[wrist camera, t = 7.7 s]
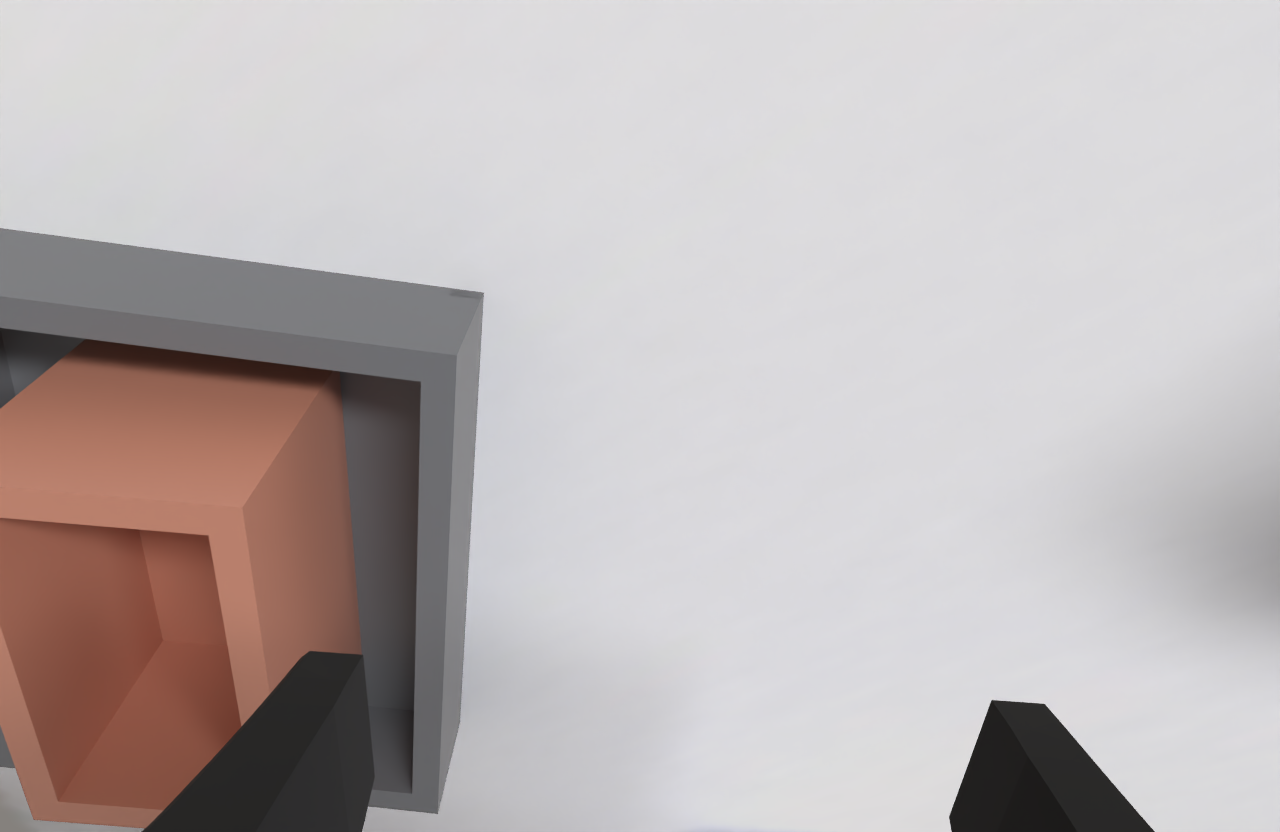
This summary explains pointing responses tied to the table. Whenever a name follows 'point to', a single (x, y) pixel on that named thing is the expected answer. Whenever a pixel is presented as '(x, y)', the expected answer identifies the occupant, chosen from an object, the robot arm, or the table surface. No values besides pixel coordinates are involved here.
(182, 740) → the terracotta crate
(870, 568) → the table surface
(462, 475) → the charcoal crate
